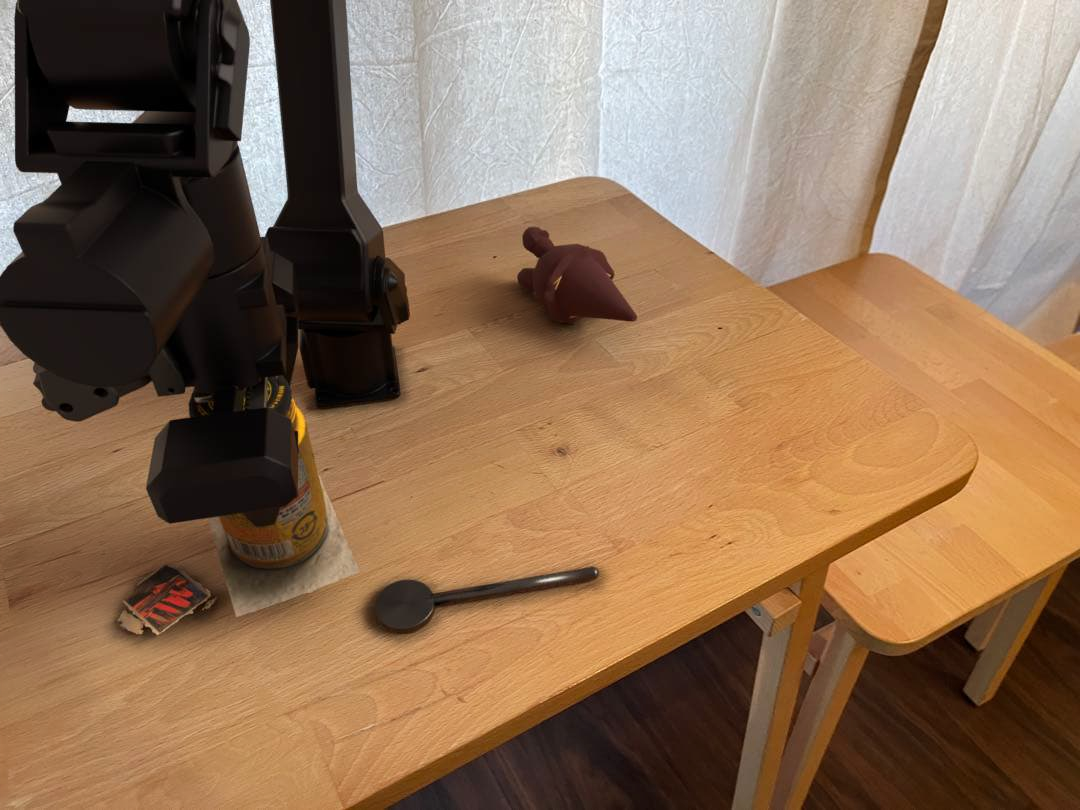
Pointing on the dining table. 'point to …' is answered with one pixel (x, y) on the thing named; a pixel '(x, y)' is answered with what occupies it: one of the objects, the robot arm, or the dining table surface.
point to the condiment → (282, 530)
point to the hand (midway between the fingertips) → (267, 482)
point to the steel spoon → (455, 597)
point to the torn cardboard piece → (163, 600)
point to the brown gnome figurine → (572, 281)
